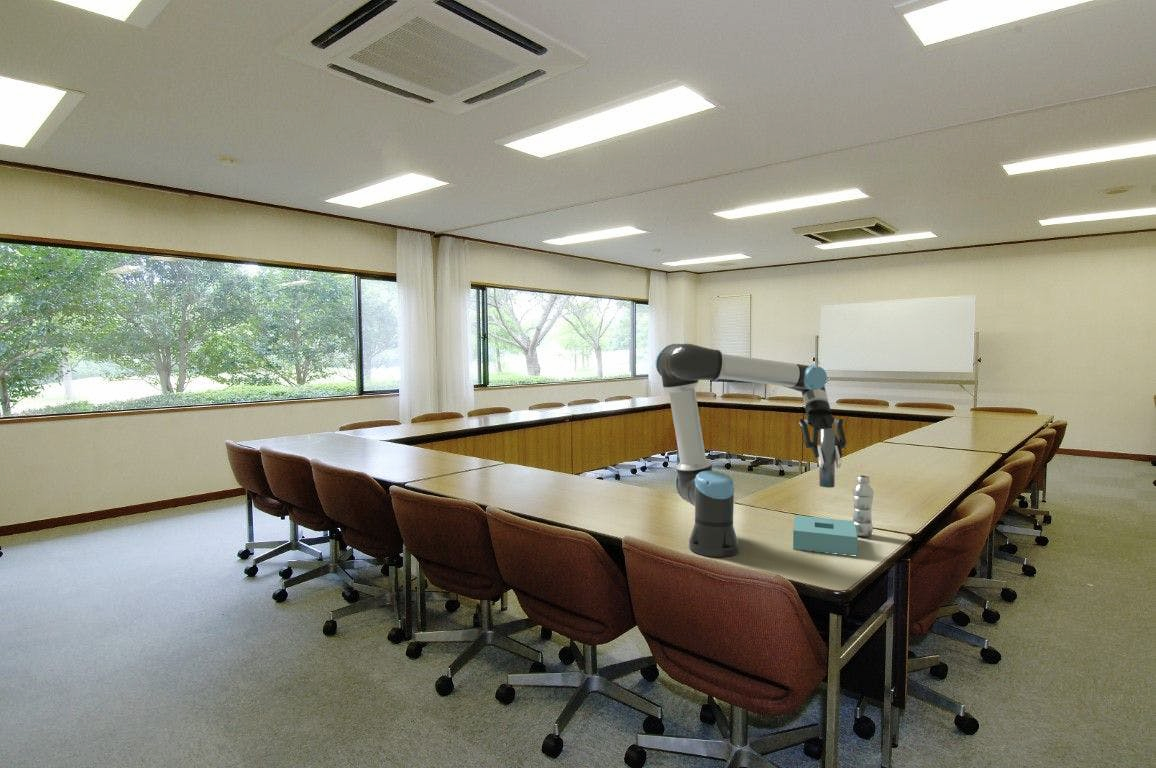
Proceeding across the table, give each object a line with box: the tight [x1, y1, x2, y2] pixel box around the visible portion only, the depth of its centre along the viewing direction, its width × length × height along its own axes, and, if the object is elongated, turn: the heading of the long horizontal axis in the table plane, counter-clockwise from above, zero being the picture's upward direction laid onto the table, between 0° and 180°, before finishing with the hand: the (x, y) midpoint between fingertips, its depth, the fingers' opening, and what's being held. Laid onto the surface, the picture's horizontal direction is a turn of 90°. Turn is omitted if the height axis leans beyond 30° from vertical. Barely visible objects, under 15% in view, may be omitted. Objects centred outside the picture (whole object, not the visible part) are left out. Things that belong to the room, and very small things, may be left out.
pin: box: [818, 427, 836, 489], centre depth 179 cm, size 4×4×18 cm
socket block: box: [792, 514, 858, 557], centre depth 183 cm, size 18×18×6 cm
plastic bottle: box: [852, 474, 875, 537], centre depth 191 cm, size 6×7×20 cm
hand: (830, 465), depth 175 cm, fingers closed on pin, 4 cm apart
